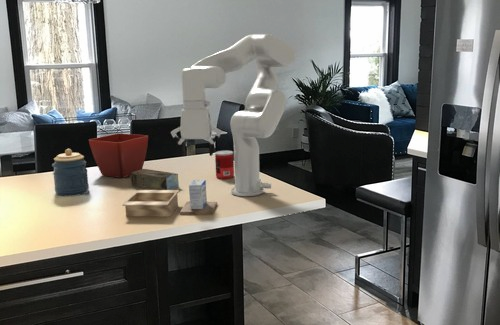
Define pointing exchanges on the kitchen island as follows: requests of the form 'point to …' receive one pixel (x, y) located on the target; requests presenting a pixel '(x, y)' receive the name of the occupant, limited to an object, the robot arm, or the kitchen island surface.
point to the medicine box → (197, 194)
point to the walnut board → (206, 210)
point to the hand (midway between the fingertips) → (197, 155)
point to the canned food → (224, 164)
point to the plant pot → (119, 153)
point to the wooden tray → (152, 203)
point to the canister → (70, 174)
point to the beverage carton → (154, 179)
